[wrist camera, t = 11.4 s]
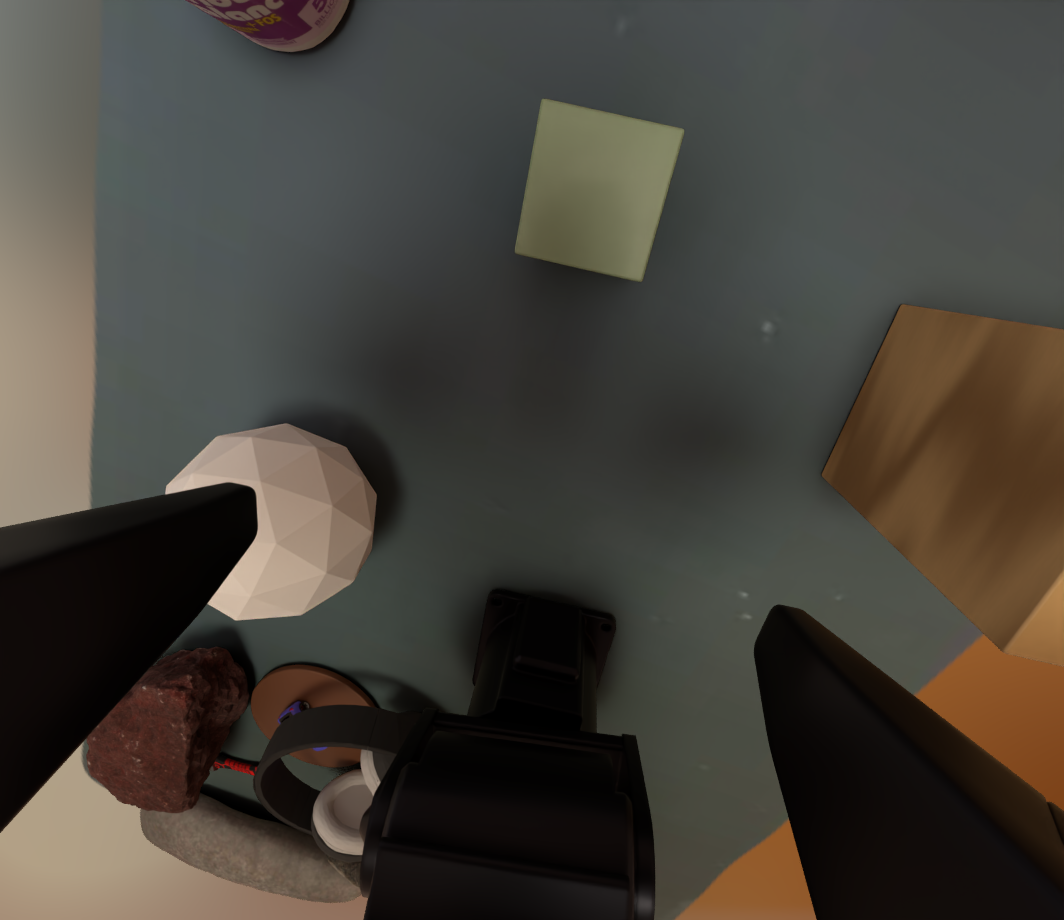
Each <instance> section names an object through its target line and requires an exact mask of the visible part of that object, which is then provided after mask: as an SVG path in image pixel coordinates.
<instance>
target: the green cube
mask: <svg viewBox="0 0 1064 920" xmlns="http://www.w3.org/2000/svg"><path fill="white" fill-rule="evenodd" d="M683 136H684V130H683V129H682V128H677V127H672V126H668V125H663V124H659V123H654V122H650V121H645V120H640V119H636V118H631V117H627V116H622V115H618V114H613V113H608V112H604V111H599V110H595V109H590V108H586V107H581V106H576V105H572V104H567V103H563V102H558V101H554V100H549V99H545V98H544V99H542V101H541V105H540V110H539V116H538V122H537V127H536V133H535V138H534V144H533V150H532V155H531V161H530V166H529V172H528V178H527V183H526V189H525V195H524V200H523V206H522V211H521V217H520V223H519V228H518V234H517V239H516V245H515V253H516V254H518V255H523V256H527V257H532V258H536V259H540V260H545V261H549V262H553V263H558V264H562V265H567V266H571V267H575V268H580V269H584V270H588V271H593V272H597V273H602V274H606V275H610V276H615V277H619V278H623V279H628V280H632V281H637V282H642V280H643V278H644V274H645V270H646V267H647V263H648V260H649V256H650V253H651V249H652V246H653V242H654V239H655V235H656V231H657V228H658V224H659V221H660V217H661V214H662V210H663V207H664V203H665V200H666V196H667V192H668V189H669V185H670V182H671V178H672V175H673V171H674V168H675V164H676V161H677V157H678V154H679V150H680V146H681V143H682V139H683Z"/></svg>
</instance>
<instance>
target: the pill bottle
mask: <svg viewBox="0 0 1064 920" xmlns="http://www.w3.org/2000/svg"><path fill="white" fill-rule="evenodd" d="M186 1H188V2H189V3H191V4H193V5H194V6H196V7H197V8H199V9H200V10H202V11H203V12H205V13H207V14H209V15H211V16H212V17H214V18H216V19H217V20H219V21H221V22H222V23H224V24H225V25H226V26H228V27H230V28H231V29H233V30H235V31H237V32H238V33H240V34H242V35H243V36H245V37H246V38H248V39H249V40H251V41H253V42H255V43H257V44H259V45H261V46H263V47H266V48H269V49H272V50H277V51H284V52H295V51H302V50H306V49H310V48H313V47H315V46H316V45H318V44H319V43H321V42H322V41H323V40H325V39H326V38H327V37H328V36H329V35H330V34H331V33H332V32H333V31H334V29H335V27H336V26H337V24H338V23H339V22H340V20H341V18H342V17H343V15H344V13H345V11H346V9H347V6H348V3H349V0H186Z"/></svg>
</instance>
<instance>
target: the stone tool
mask: <svg viewBox="0 0 1064 920" xmlns="http://www.w3.org/2000/svg"><path fill="white" fill-rule="evenodd" d="M140 818H141V827H142V831H143V833H144V835H145V837H146V838H147V839H148V840H149V841H150V842H151V843H152V844H154V845H155V846H157V847H159V848H160V849H162V850H163V851H166V852H167V853H169V854H171V855H173V856H174V857H176V858H178V859H179V860H181V861H183V862H185V863H187V864H188V865H191V866H193V867H195V868H198V869H200V870H203V871H206V872H209V873H211V874H213V875H215V876H217V877H221V878H223V879H226V880H229V881H232V882H235V883H238V884H242V885H246V886H249V887H252V888H255V889H258V890H261V891H266V892H270V893H275V894H280V895H285V896H289V897H293V898H297V899H302V900H307V901H315V902H325V903H337V902H347V901H351V900H353V899H355V898H357V897H358V896H360V895H361V894H362V893H361V891H360V888H356V887H355V886H354V885H352V884H351V883H350V882H349V881H348V880H347V879H345V878H344V877H343V876H342V875H341V874H339V873H338V872H337V870H336V869H335V868H334V867H333V866H332V865H331V864H330V863H329V862H328V859H327V856H326V854H325V853H324V852H323V851H322V850H321V849H320V848H319V846H318V845H317V843H316V842H315V839H314V837H313V836H312V835H310V834H307V833H304V832H302V831H299V830H297V829H295V828H292V827H289V826H286V825H284V824H281V823H278V822H273V821H268V820H263V819H259V818H255V817H253V816H250V815H247V814H245V813H242V812H239V811H237V810H234V809H232V808H230V807H228V806H226V805H224V804H223V803H221V802H219V801H217V800H215V799H213V798H211V797H208V796H206V795H204V794H202V793H200V795H199V800H198V801H197V803H196V805H195V806H194V807H193V808H192V809H189V810H187V811H184V812H183V813H167V812H158V811H154V810H152V811H146V810H143V809H141V812H140Z"/></svg>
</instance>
